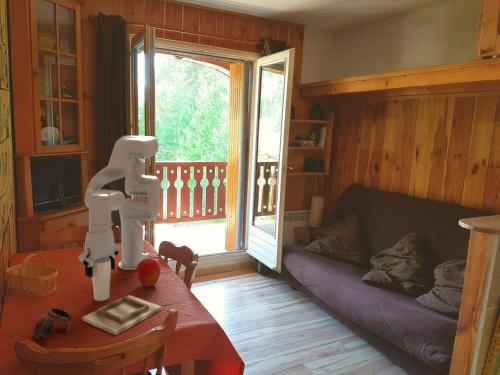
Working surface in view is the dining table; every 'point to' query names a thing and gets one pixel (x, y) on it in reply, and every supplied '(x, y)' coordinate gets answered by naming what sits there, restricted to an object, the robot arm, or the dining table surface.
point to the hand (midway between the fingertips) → (100, 272)
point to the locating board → (121, 314)
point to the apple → (148, 272)
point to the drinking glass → (101, 278)
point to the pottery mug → (51, 322)
